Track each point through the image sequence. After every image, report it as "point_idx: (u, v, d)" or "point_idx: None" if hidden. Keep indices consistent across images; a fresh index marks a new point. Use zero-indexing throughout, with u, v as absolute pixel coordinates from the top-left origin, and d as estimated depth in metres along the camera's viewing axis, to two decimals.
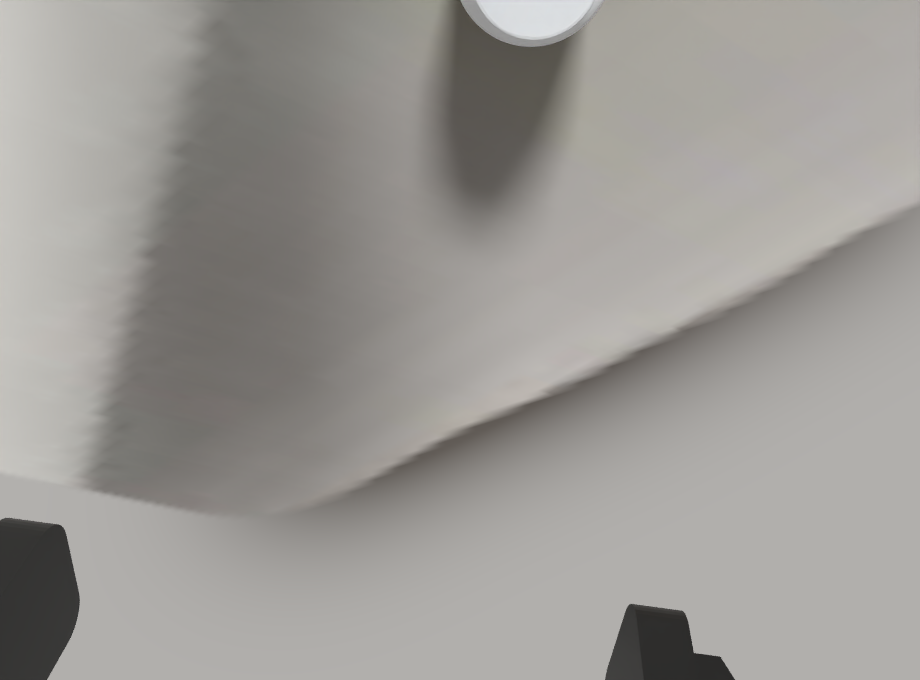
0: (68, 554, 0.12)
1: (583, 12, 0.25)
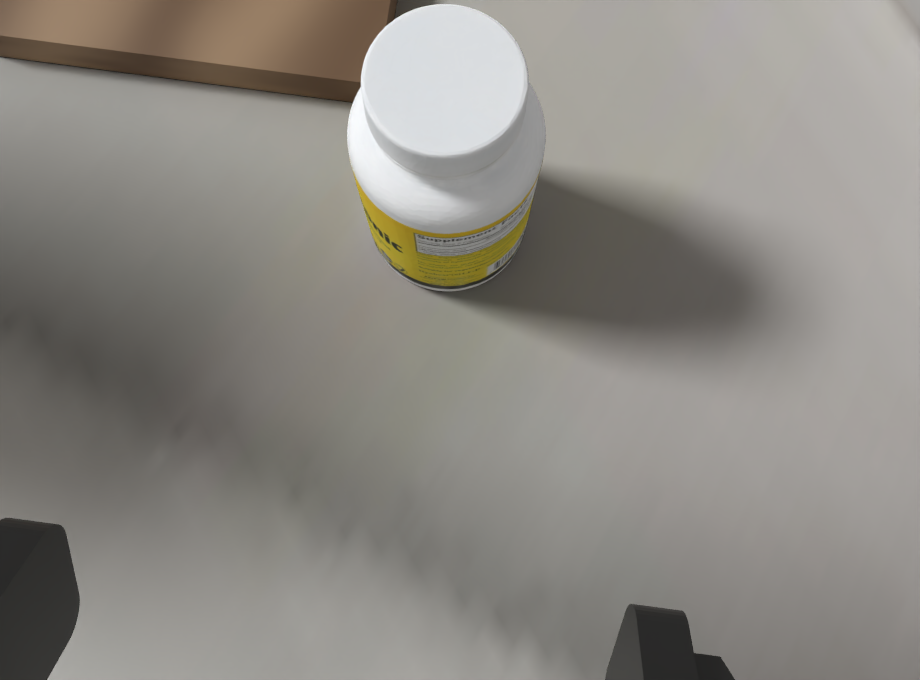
0: (68, 554, 0.12)
1: (499, 26, 0.20)
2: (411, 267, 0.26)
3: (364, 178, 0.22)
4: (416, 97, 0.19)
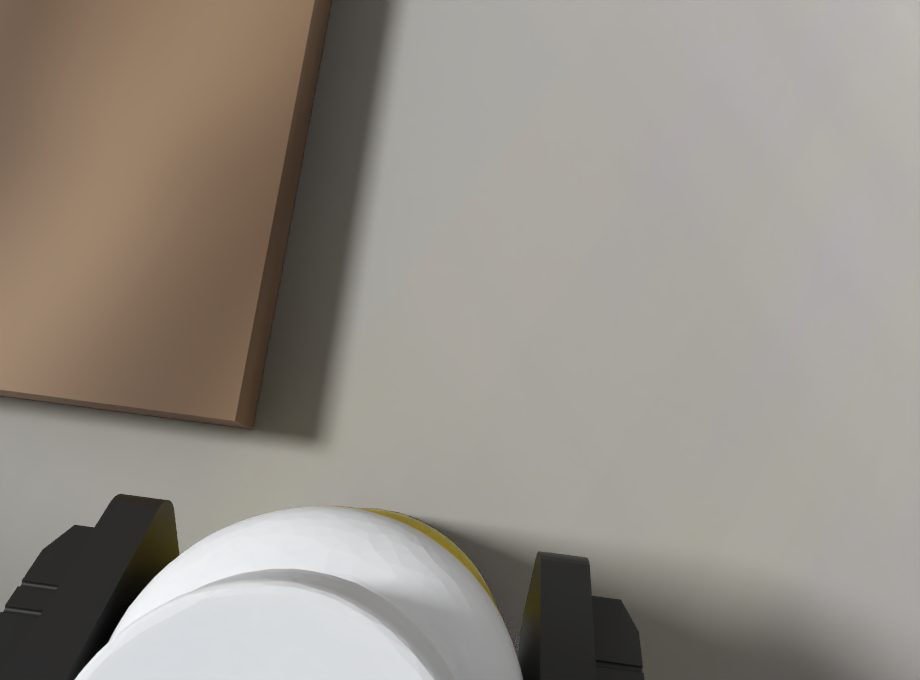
0: (175, 529, 0.12)
1: (402, 656, 0.07)
2: None
3: None
4: None
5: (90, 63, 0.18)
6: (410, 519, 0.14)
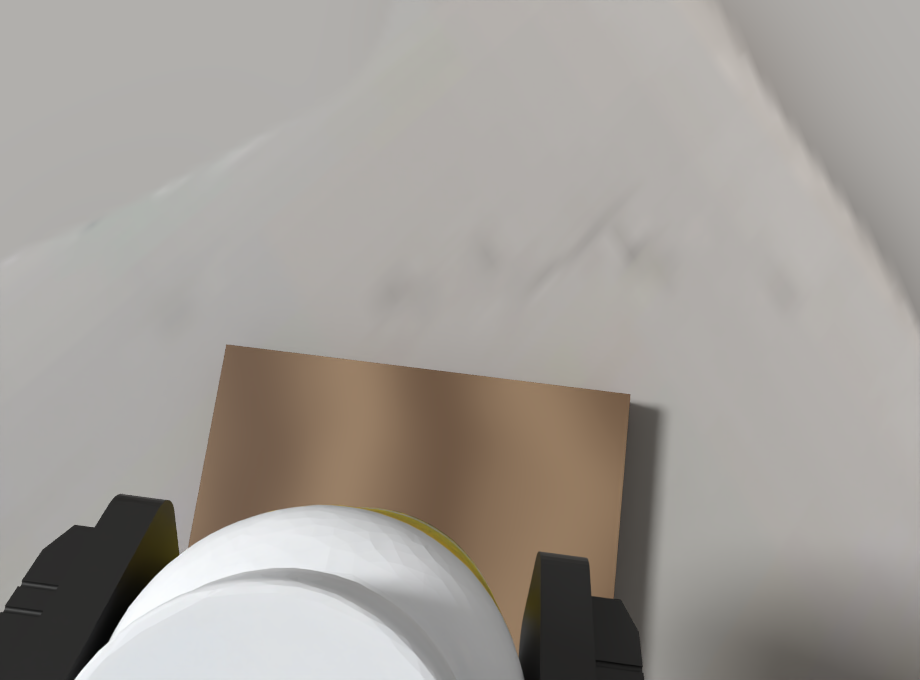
0: (175, 529, 0.12)
1: (403, 655, 0.07)
2: None
3: None
4: None
5: None
6: (411, 518, 0.14)
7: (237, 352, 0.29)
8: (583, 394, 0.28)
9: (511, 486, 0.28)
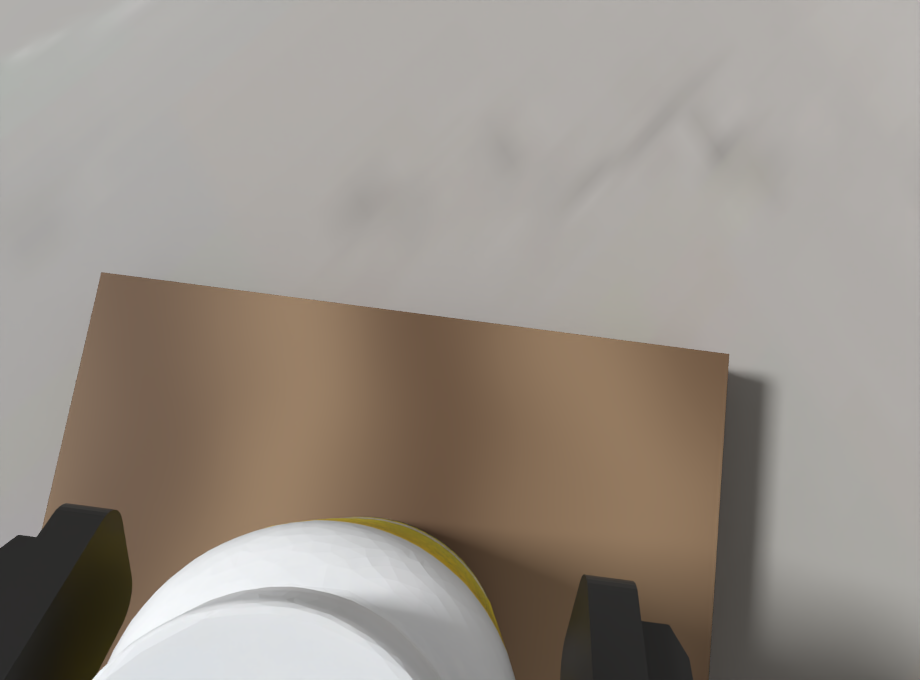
0: (124, 539, 0.12)
1: (396, 675, 0.08)
2: None
3: None
4: None
5: None
6: (409, 529, 0.14)
7: (118, 284, 0.18)
8: (656, 353, 0.18)
9: (544, 496, 0.18)
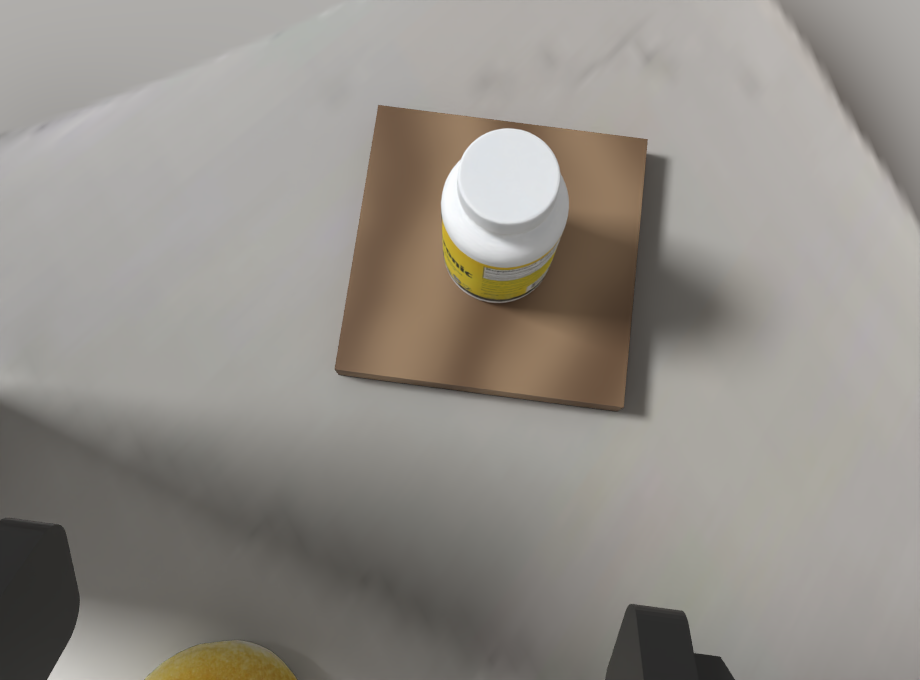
0: (68, 554, 0.12)
1: (542, 142, 0.32)
2: (475, 287, 0.39)
3: (454, 233, 0.34)
4: (491, 187, 0.32)
5: None
6: None
7: (385, 110, 0.43)
8: (616, 138, 0.43)
9: (569, 194, 0.42)
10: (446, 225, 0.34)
